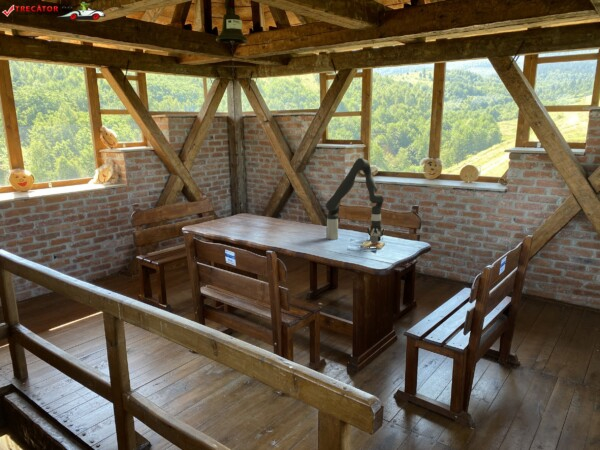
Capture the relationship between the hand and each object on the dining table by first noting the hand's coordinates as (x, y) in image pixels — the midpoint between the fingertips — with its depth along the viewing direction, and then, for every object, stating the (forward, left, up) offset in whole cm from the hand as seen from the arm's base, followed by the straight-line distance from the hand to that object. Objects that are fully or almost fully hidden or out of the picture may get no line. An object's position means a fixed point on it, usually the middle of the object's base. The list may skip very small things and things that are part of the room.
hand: (375, 240), depth 348 cm
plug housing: (0, 0, -1) cm, 1 cm away
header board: (-2, 0, -4) cm, 5 cm away
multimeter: (-4, +19, -5) cm, 20 cm away
